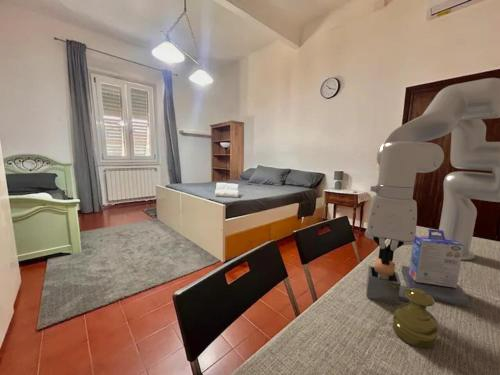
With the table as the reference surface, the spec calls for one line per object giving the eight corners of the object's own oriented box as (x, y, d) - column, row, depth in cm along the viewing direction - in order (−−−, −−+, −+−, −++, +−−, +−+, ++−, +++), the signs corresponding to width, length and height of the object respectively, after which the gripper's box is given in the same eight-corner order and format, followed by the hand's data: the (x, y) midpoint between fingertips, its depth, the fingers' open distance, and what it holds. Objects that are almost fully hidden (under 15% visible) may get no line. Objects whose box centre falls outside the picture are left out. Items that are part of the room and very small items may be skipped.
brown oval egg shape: (372, 275, 61) (375, 256, 61) (391, 279, 59) (394, 260, 59) (373, 283, 57) (376, 263, 57) (393, 288, 56) (396, 268, 55)
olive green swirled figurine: (441, 339, 45) (450, 295, 44) (426, 356, 41) (434, 308, 40) (401, 316, 51) (407, 277, 50) (385, 329, 47) (390, 286, 46)
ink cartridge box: (445, 277, 65) (454, 230, 62) (458, 289, 59) (467, 237, 57) (407, 272, 67) (413, 226, 65) (415, 282, 62) (423, 233, 59)
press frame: (365, 263, 76) (367, 246, 75) (449, 281, 66) (452, 262, 65) (366, 297, 58) (369, 276, 57) (483, 329, 48) (488, 304, 47)
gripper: (360, 191, 55) (352, 261, 57) (437, 199, 48) (424, 277, 51) (360, 187, 61) (353, 250, 64) (427, 193, 55) (416, 263, 58)
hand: (384, 262), depth 58 cm, fingers closed
